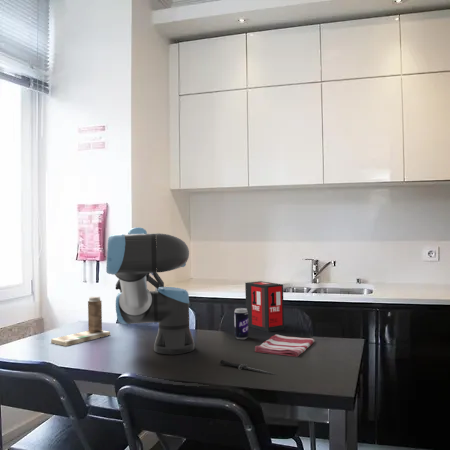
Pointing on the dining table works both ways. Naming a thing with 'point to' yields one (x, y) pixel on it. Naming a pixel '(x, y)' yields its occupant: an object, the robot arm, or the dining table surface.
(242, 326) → the beverage can
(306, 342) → the dish towel
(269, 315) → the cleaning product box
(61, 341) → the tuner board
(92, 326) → the brown cylinder
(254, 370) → the knife
